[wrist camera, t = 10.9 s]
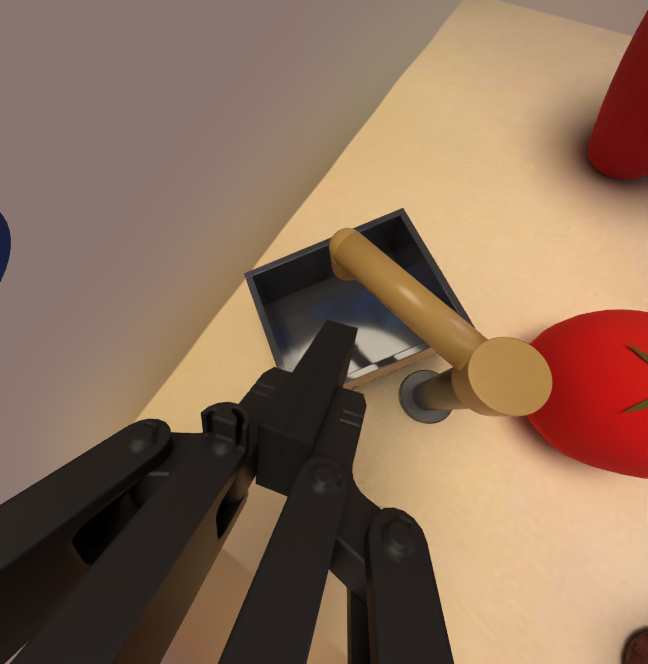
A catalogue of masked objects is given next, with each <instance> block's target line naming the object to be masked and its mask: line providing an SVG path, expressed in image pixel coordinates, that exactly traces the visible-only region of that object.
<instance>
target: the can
mask: <svg viewBox="0 0 648 664" xmlns="http://www.w3.org/2000/svg"><path fill="white" fill-rule="evenodd" d="M625 664H648V631H646V632H643V633H641V634H638V635H637V636H636V637H635V638H634V639H633V640H632V641H631V642H630V643H629V645H628V648H627V651H626V654H625Z"/></svg>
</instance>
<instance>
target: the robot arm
mask: <svg viewBox="0 0 648 664" xmlns="http://www.w3.org/2000/svg"><path fill="white" fill-rule="evenodd" d="M357 332H358V328H356V327H352V326H349V325H345V324H341V323H338V322H334V321H330V320H326V321H325V323H324V324H323V326H322V327H321V329H320V330H319V332H318V334H317V335H316V337H315V338H314V340H313V341H312V343H311V344H310V346H309V347H308V349H307V350H306V352H305V353H304V355H303V356H302V358H301V359H300V361H299V363H298V364H297V366H296V367H295V369H294V370H293V372H289V371H286V370H282V369H279V368H276V367H273V368H272V369H270V370H268V371H266V372H265V373H263V374H262V375H261V377H260V378H259V379H258V380H257V382H256V384H254V385H253V387H252V388H251V389H250V391H249V392H248V393H247V394H246V395H245V397H244V398H243V399H242V400H241V402H240V403H239V404H237V403H231V402H223V403H217V404H214V405H212V406H209V407H207V408H206V409H205V410H204V411H202V412H201V418H202V427H203V433H176V432H171V430H170V427H169V426H168V424H167V423H166V422H164V421H161V420H159V419H145V420H141V421H137V422H135V423H133V424H131V425H129V426H127V427H125V428H124V429H122V430H120V431H119V432H117V433H116V434H114V435H112V436H111V437H109V438H108V439H106V440H104V441H103V442H101V443H100V444H98V445H96V446H95V447H93V448H91V449H90V450H88V451H87V452H85V453H83V454H82V455H80V456H79V457H77V458H75V459H74V460H72V461H71V462H69V463H67V464H66V465H64V466H62V467H61V468H59V469H58V470H56V471H54V472H53V473H51V474H49V475H48V476H46V477H45V478H43V479H42V480H40V481H38V482H37V483H35V484H33V485H32V486H30V487H29V488H27V489H25V490H24V491H22V492H20V493H19V494H17V495H16V496H14V497H12V498H11V499H9V500H7V501H6V502H4V503H3V504H1V505H0V664H5V663H6V662H7V661H8V660H9V659H10V658H11V657H12V656H13V655H14V654H15V653H16V652H17V651H18V650H19V649H20V648H22V647H23V646H24V645H25V644H26V643H27V642H28V643H27V644H26V645H25V646H24V647H23V649H22V650H21V651H20V652H19V653H18V655H17V656H16V657H15V658H14V659H13V661H12V662H11V663H10V664H160V662H161V660H162V659H163V657H164V655H165V653H166V651H167V649H168V647H169V645H170V644H171V642H172V640H173V638H174V636H175V634H176V632H177V630H178V629H179V627H180V625H181V623H182V621H183V619H184V617H185V615H186V614H187V612H188V610H189V608H190V606H191V604H192V602H193V601H194V599H195V597H196V595H197V593H198V591H199V589H200V587H201V586H202V584H203V582H204V580H205V578H206V576H207V574H208V572H209V570H210V569H211V567H212V565H213V563H214V561H215V559H216V557H217V556H218V554H219V552H220V550H221V548H222V546H223V544H224V542H225V541H226V539H227V537H228V535H229V533H230V531H231V529H232V527H233V526H234V524H235V522H236V520H237V518H238V516H239V514H240V512H241V511H242V509H243V507H244V505H245V503H246V500H247V497H248V488H249V487H250V485H251V483H252V481H253V479H254V477H255V476H256V484H257V485H260V486H262V487H265V488H268V489H270V490H273V491H275V492H278V493H280V494H283V495H285V496H288V497H287V500H286V502H285V504H284V507H283V509H282V512H281V514H280V516H279V519H278V521H277V524H276V526H275V528H274V531H273V533H272V536H271V538H270V540H269V543H268V545H267V547H266V550H265V552H264V555H263V557H262V559H261V562H260V564H259V567H258V569H257V571H256V574H255V576H254V578H253V581H252V583H251V586H250V588H249V590H248V593H247V595H246V598H245V600H244V602H243V605H242V607H241V610H240V612H239V614H238V617H237V619H236V621H235V624H234V626H233V629H232V631H231V633H230V636H229V638H228V641H227V643H226V645H225V648H224V650H223V653H222V655H221V657H220V660H219V662H218V664H306V663H307V659H308V654H309V650H310V646H311V642H312V638H313V633H314V629H315V625H316V621H317V617H318V612H319V608H320V604H321V600H322V596H323V591H324V587H325V583H326V579H327V575H328V570H330V571H331V572H332V573H333V574H334V575H335V576H336V577H337V578H338V579H339V580H340V581H341V582H342V583H343V584H344V585H345V586H346V587H347V640H348V664H454V661H453V656H452V652H451V647H450V643H449V638H448V634H447V630H446V625H445V621H444V616H443V612H442V607H441V603H440V598H439V594H438V589H437V585H436V580H435V576H434V571H433V567H432V562H431V558H430V553H429V549H428V544H427V541H426V538H425V536H424V533H423V530H422V529H421V527H420V526H419V525H418V523H417V522H416V521H415V519H414V518H413V517H411V516H410V515H409V514H407V513H406V512H405V511H402V510H399V509H396V508H383V509H380V508H379V507H378V506H377V505H375V504H374V503H373V502H371V501H370V500H369V499H368V498H366V497H365V496H364V495H363V494H362V493H361V492H360V490H359V489H358V487H357V486H356V484H355V481H354V479H353V474H352V466H353V461H354V457H355V452H356V448H357V444H358V440H359V436H360V431H361V427H362V423H363V418H364V414H365V410H366V406H367V405H366V401H365V398H364V394H362V393H359V392H355V391H352V390H349V389H346V388H343V385H344V382H345V380H346V377H347V374H348V370H349V365H350V361H351V357H352V353H353V349H354V344H355V340H356V336H357Z"/></svg>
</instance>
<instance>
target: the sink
mask: <svg viewBox="0 0 648 664" xmlns="http://www.w3.org/2000/svg"><path fill="white" fill-rule="evenodd" d="M353 229H354V230H356V231H358V232H359V233H360V234H362V235H363V236H364V237H365V238H366V239H368V240H369V241H370V242H371V243H372V244H374V245H375V246H376V247H377V248H378V249H380V250H381V251H382V252H383V253H384V254H386V255H387V256H388V257H389V258H390V259H392V260H393V261H394V262H395V263H396V264H398V265H399V266H400V267H401V268H403V269H404V270H405V271H406V272H407V273H409V274H410V275H411V276H412V277H413V278H415V279H416V280H417V281H418V282H419V283H421V284H422V285H423V286H424V287H425V288H427V289H428V290H429V291H430V292H431V293H433V294H434V295H435V296H436V297H437V298H439V299H440V300H441V301H442V302H443V303H445V304H446V305H447V306H448V307H450V308H451V309H452V310H453V311H454V312H456V313H457V314H458V315H459V316H460V317H462V318H463V319H464V320H465V321H466V322H468V323H469V324H470V325H471V326H472V327H474V325H473V324H472V322H471V320H470V318H469V317H468V315H467V313H466V312H465V310H464V308H463V307H462V305H461V303H460V302H459V300H458V298H457V297H456V295H455V293H454V292H453V290H452V289H451V287H450V285H449V284H448V282H447V280H446V279H445V277H444V275H443V274H442V272H441V270H440V269H439V267H438V265H437V264H436V262H435V260H434V259H433V257H432V255H431V254H430V252H429V250H428V249H427V247H426V245H425V244H424V242H423V240H422V239H421V237H420V235H419V234H418V232H417V230H416V229H415V227H414V225H413V224H412V222H411V220H410V219H409V217H408V215H407V214H406V212H405V210H404V209H403V208H402V209H399V210H397V211H394V212H392V213H389V214H387V215H385V216H382V217H380V218H377V219H375V220H373V221H370V222H368V223H365V224H363V225H360V226H358V227H356V228H353ZM331 238H332V237H331ZM331 238H329V239H327V240H324V241H322V242H319V243H317V244H314V245H312V246H310V247H307V248H305V249H302V250H300V251H297V252H295V253H293V254H290V255H288V256H285V257H283V258H281V259H278V260H276V261H273V262H271V263H268V264H266V265H264V266H261V267H259V268H256V269H254V270H251V271H249V272H247V273H245V274H244V275H245V278H246V280H247V283H248V286H249V289H250V292H251V295H252V298H253V300H254V303H255V306H256V309H257V312H258V315H259V317H260V320H261V323H262V326H263V329H264V332H265V334H266V337H267V340H268V343H269V346H270V349H271V352H272V354H273V357H274V360H275V363H276V366H277V368H279V369H282V370H286V371H289V372H293V370H294V369H295V367H296V366H297V364H298V363H299V361H300V359H301V358H302V356H303V355H304V353H305V352H306V350H307V349H308V347H309V346H310V344H311V343H312V341H313V340H314V338H315V337H316V335H317V334H318V332H319V330H320V329H321V327H322V326H323V324H324V323H325V321H326V320H330V321H334V322H338V323H341V324H345V325H349V326H352V327H356V328H358V332H357V336H356V340H355V344H354V349H353V353H352V357H351V361H350V365H349V370H348V374H347V377H346V380H345V382H344V385H343V388H346V389H349V390H350V389H353V388H355V387H357V386H360V385H362V384H364V383H367V382H369V381H372V380H374V379H376V378H379V377H381V376H384V375H386V374H388V373H391V372H393V371H395V370H398V369H400V368H403V367H405V366H407V365H410V364H412V363H414V362H417V361H419V360H422V359H424V358H426V357H429V356H431V355H434V354H436V353H437V352H436V351H435V350H434V349H433V348H432V347H430V346H429V345H428V344H427V343H426V342H425V341H424V340H423V339H422V338H420V337H419V336H418V335H417V334H416V333H415V332H414V331H413V330H411V329H410V328H409V327H408V326H407V325H406V324H405V323H404V322H403V321H401V320H400V319H399V318H398V317H397V316H396V315H395V314H394V313H393V312H391V311H390V310H389V309H388V308H387V307H386V306H385V305H384V304H382V303H381V302H380V301H379V300H378V299H377V298H376V297H375V296H374V295H372V294H371V293H370V292H369V291H368V290H367V289H366V288H365V287H364V286H362V285H361V284H360V283H359V282H358V281H357V280H356V279H354V280H349V281H346V280H342V279H340V278H338V277H337V276H336V275H335V274H334V272H333V270H332V264H331V257H330V251H329V244H330V240H331ZM474 328H475V327H474Z"/></svg>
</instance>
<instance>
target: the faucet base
mask: <svg viewBox="0 0 648 664" xmlns="http://www.w3.org/2000/svg"><path fill="white" fill-rule="evenodd" d="M452 369H453V367H452V368H450V369H448V370H446V371H444V372H442V373H440V374H439V373H436V372H434V371H430V370H420V371H417V372H414V373H412V374H411V375H409V376H408V377H407V378H406V379H405V380H404V381H403V383H402V384H401V387H400V390H399V400H400V404H401V406H402V408H403V410H404V411H405V413H406V414H407V415H408V416H409V417H411V418H412V419H414V420H416V421H418V422H422V423H429V424H430V423H437V422H440V421H442V420H444V419H445V418H446V417H447V416H448V415H449V414H450V413H451V411H452V410H453V409H469V408H467V407H466V406H465V405H464V404H463V403H462V402H461V401H460V400H459V398H458V397H457V395H456V393H455V391H454V389H453V386H452V379H451V375H452Z"/></svg>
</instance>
